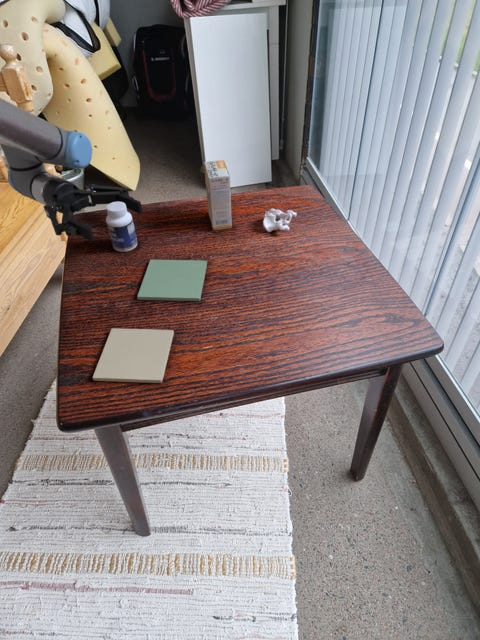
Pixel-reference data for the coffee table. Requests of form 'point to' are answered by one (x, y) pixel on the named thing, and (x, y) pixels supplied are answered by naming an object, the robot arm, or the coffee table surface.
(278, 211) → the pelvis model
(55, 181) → the robot arm
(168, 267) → the sage mat
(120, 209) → the pill bottle
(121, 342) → the cream mat
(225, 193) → the supplement box
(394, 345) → the coffee table surface
